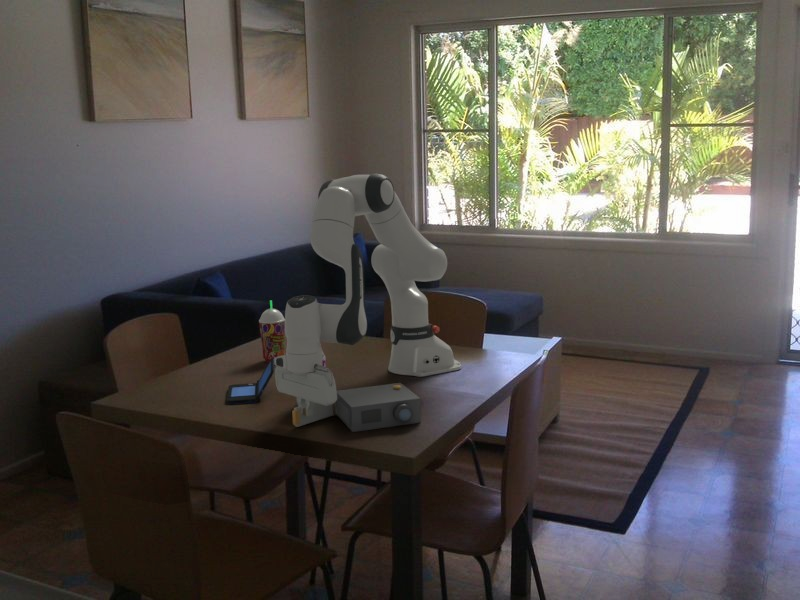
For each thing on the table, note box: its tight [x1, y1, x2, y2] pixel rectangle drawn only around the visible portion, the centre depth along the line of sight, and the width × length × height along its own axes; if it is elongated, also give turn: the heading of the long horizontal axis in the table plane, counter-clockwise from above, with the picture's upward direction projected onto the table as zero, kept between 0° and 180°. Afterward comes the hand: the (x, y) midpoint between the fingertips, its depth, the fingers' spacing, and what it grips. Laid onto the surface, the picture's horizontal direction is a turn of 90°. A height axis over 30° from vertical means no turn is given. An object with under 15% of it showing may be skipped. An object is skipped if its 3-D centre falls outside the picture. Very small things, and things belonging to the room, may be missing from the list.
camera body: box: [335, 382, 422, 433], centre depth 229 cm, size 18×17×7 cm
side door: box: [291, 403, 336, 428], centre depth 229 cm, size 1×13×5 cm, turn 136°
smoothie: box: [258, 300, 286, 364], centre depth 288 cm, size 8×8×20 cm
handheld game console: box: [225, 357, 275, 405], centre depth 253 cm, size 16×13×9 cm
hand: (307, 415), depth 225 cm, fingers closed
